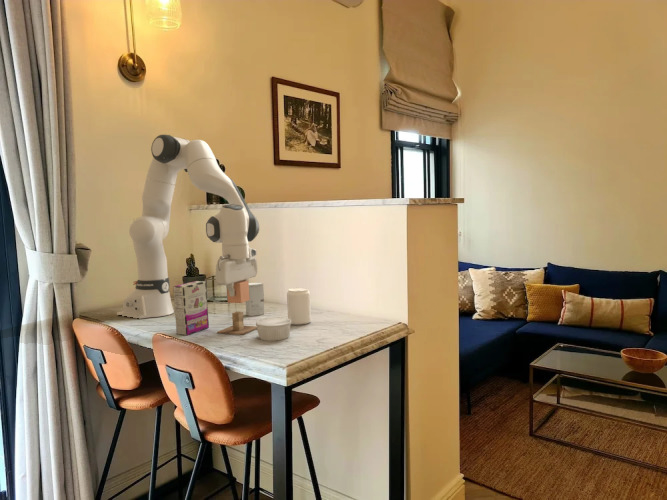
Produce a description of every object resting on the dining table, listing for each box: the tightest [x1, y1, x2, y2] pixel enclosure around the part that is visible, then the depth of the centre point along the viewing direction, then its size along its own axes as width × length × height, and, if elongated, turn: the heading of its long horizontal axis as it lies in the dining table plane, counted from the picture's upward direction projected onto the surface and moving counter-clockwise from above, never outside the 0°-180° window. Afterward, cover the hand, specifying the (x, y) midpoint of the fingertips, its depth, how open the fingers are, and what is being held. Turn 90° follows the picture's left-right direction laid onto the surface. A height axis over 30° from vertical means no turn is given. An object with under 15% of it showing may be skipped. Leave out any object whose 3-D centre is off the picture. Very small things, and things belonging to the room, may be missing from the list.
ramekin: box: [255, 316, 292, 342], centre depth 162 cm, size 11×11×5 cm
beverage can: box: [286, 287, 312, 326], centre depth 181 cm, size 8×8×12 cm
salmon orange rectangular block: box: [226, 280, 250, 304], centre depth 171 cm, size 5×5×7 cm
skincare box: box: [245, 282, 265, 317], centre depth 197 cm, size 6×4×12 cm
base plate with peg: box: [216, 311, 258, 336], centre depth 172 cm, size 10×10×6 cm
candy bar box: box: [172, 280, 210, 336], centre depth 173 cm, size 11×5×16 cm, turn 153°
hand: (238, 294), depth 172 cm, fingers closed on salmon orange rectangular block, 5 cm apart
